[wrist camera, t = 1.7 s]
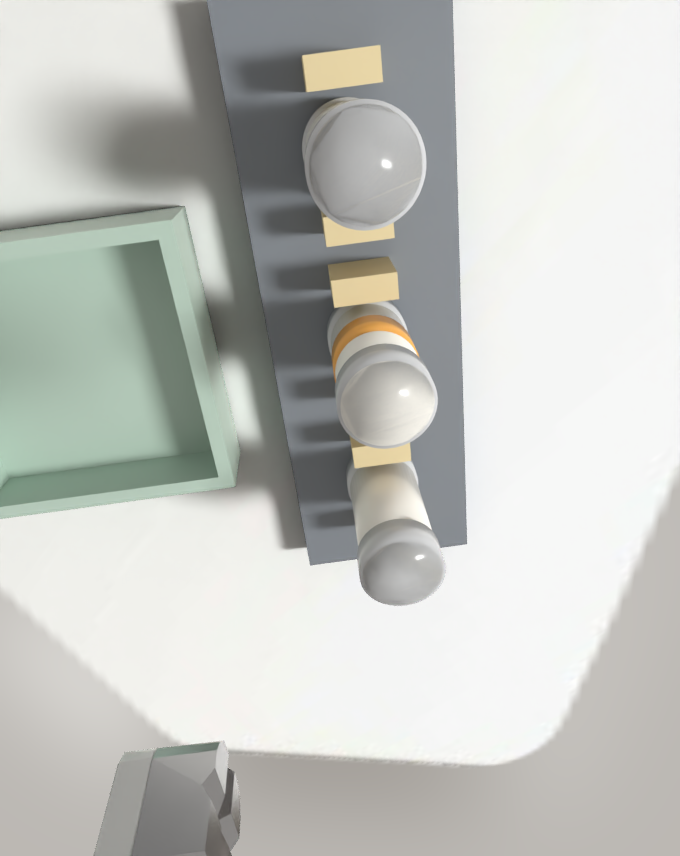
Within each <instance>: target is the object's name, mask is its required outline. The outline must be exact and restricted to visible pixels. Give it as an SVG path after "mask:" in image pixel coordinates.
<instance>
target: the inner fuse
mask: <svg viewBox="0 0 680 856" xmlns="http://www.w3.org/2000/svg"><path fill="white" fill-rule="evenodd" d="M302 154H303V160H304V166H305V175H306V181H307V185H308V188H309V191H310V194H311V196H312V198H313V200H314V201H315V203H316V205H317V206H318V207H319V209H320V210H321V211H322V212H323V213H324V214H325V215H326V216H327V217H328V218H329V219H331V220H332V221H334V222H335V223H337V224H339V225H341V226H343V227H346V228H349V229H353V230H361V231H367V230H375V229H380V228H383V227H385V226H388V225H390V224H392V223H394V222H395V221H397V220H398V219H400V218H401V217H402V216H403V215H404V214H405V213H406V212H407V211H408V210H409V209H410V208H411V207H412V205H413V204H414V203H415V201H416V199H417V198H418V196H419V194H420V192H421V189H422V186H423V183H424V179H425V174H426V151H425V147H424V143H423V140H422V137H421V135H420V133H419V131H418V129H417V127H416V126H415V124H414V123H413V122H412V120H411V119H410V118H409V117H408V116H407V115H406V114H405V113H404V112H402V111H401V110H400V109H398V108H397V107H395V106H393V105H391V104H389V103H386V102H384V101H380V100H374V99H359V98H353V97H340V98H336V99H333V100H330V101H328V102H326V103H324V104H323V105H322V106H320V107H319V108H318V109H317V110H316V111H315V112H314V113H313V114H312V116H311V117H310V119H309V120H308V122H307V124H306V127H305V130H304V133H303V138H302Z"/></svg>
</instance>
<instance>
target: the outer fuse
mask: <svg viewBox="0 0 680 856" xmlns="http://www.w3.org/2000/svg"><path fill="white" fill-rule="evenodd" d="M346 479H347V487H348V493H349V496H350V499H351V500H352V506H353V513H354V521H355V528H356V535H357V542H358V549H357V560H358V568H359V575H360V581H361V585H362V587H363V589H364V590H365V592H366V593H367V594H368V595H369V596H370V597H371V598H373V599H374V600H376V601H378V602H381V603H384V604H388V605H394V606H402V605H409V604H414V603H417V602H419V601H422V600H424V599H426V598H427V597H429V596H430V595H432V594H433V593H434V592H435V591H436V590H437V589H438V588H439V587H440V585H441V584H442V582H443V580H444V577H445V573H446V565H445V561H444V558H443V554H442V551H441V548H440V545H439V542H438V539H437V537H436V535H435V533H434V532H433V531H432V528H431V525H430V522H429V519H428V516H427V513H426V509H425V506H424V503H423V500H422V497H421V494H420V490H419V487H418V477H417V473H416V470H415V467H414V464H413V461H412V459H411V461H406V462H399V463H391V464H384V465H377V466H369V467H362V468H355V467H354V461H353V456H352V457H351V459H350V460H349V462H348V465H347V468H346Z"/></svg>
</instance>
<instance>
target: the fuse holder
mask: <svg viewBox="0 0 680 856" xmlns="http://www.w3.org/2000/svg"><path fill="white" fill-rule="evenodd" d="M207 4H208V10H209V15H210V21H211V26H212V32H213V37H214V43H215V48H216V53H217V59H218V64H219V70H220V75H221V81H222V86H223V92H224V97H225V103H226V108H227V114H228V119H229V124H230V130H231V135H232V141H233V146H234V152H235V157H236V163H237V168H238V174H239V179H240V184H241V190H242V195H243V201H244V206H245V212H246V217H247V223H248V228H249V234H250V239H251V244H252V250H253V255H254V261H255V266H256V272H257V277H258V283H259V288H260V294H261V299H262V305H263V310H264V315H265V321H266V326H267V332H268V337H269V343H270V348H271V354H272V359H273V365H274V370H275V375H276V381H277V386H278V392H279V397H280V403H281V408H282V414H283V419H284V425H285V430H286V436H287V441H288V446H289V452H290V457H291V463H292V468H293V474H294V479H295V485H296V490H297V496H298V501H299V506H300V512H301V517H302V523H303V528H304V534H305V539H306V545H307V550H308V556H309V561H310V565H317V564H324V563H331V562H339V561H346V560H354V559H357V549H358V542H357V535H356V528H355V521H354V513H353V506H352V500H351V499H350V496H349V493H348V487H347V479H346V468H347V465H348V462H349V460H350V459H351V457H352V456H353V461H354V467H355V468H362V467H369V466H377V465H384V464H391V463H399V462H406V461H411V459H412V461H413V464H414V467H415V470H416V473H417V477H418V487H419V490H420V494H421V497H422V500H423V503H424V506H425V509H426V513H427V516H428V519H429V522H430V525H431V528H432V531H433V532H434V533H435V535H436V537H437V539H438V542H439V545H440V548H442V547H449V546H457V545H464V544H467V527H466V489H465V451H464V414H463V376H462V338H461V301H460V263H459V225H458V187H457V150H456V112H455V74H454V36H453V0H207ZM340 97H353V98H359V99H374V100H380V101H384V102H386V103H389V104H391V105H393V106H395V107H397V108H398V109H400V110H401V111H402V112H404V113H405V114H406V115H407V116H408V117H409V118H410V119H411V120H412V122H413V123H414V124H415V126H416V127H417V129H418V131H419V133H420V135H421V137H422V140H423V143H424V147H425V151H426V174H425V179H424V183H423V186H422V189H421V192H420V194H419V196H418V198H417V199H416V201H415V203H414V204H413V205H412V207H411V208H410V209H409V210H408V211H407V212H406V213H405V214H404V215H403V216H402V217H401V218H400V219H398V220H397V221H395V222H394V223H392V224H390V225H388V226H385V227H383V228H380V229H375V230H367V231H361V230H353V229H349V228H346V227H343V226H341V225H339V224H337V223H335V222H334V221H332V220H331V219H329V218H328V217H327V216H326V215H325V214H324V213H323V212H322V211H321V210H320V209H319V207H318V206H317V205H316V203H315V201H314V200H313V198H312V196H311V194H310V191H309V188H308V185H307V181H306V175H305V166H304V160H303V154H302V138H303V133H304V130H305V127H306V124H307V122H308V120H309V119H310V117H311V116H312V114H313V113H314V112H315V111H316V110H317V109H318V108H319V107H320V106H322V105H323V104H324V103H326V102H328V101H330V100H333V99H336V98H340ZM389 300H390V301H391V302H393V303H394V304H395V306H396V307H397V308H398V310H399V311H400V313H401V316H402V318H403V320H404V322H405V324H406V327H407V330H408V334H409V335H410V337H411V339H412V342H413V344H414V346H415V348H416V350H417V352H418V354H419V357H420V359H421V360H422V361H423V362H424V364H425V366H426V367H427V370H428V372H429V374H430V376H431V378H432V380H433V382H434V384H435V387H436V390H437V396H438V405H437V410H436V413H435V416H434V418H433V421H432V422H431V424H430V425H429V427H428V428H427V429H426V430H425V432H424V433H422V434H421V435H420V436H419V437H418V438H416V439H415V440H413V441H411V442H410V443H407V444H405V445H403V446H399V447H395V448H388V449H380V448H373V447H369V446H366V445H363V444H361V443H359V442H358V441H356V440H355V439H353V438H352V437H351V436H350V435H349V434H348V433H347V432H346V431H345V429H344V428H343V426H342V424H341V423H340V420H339V417H338V412H337V405H336V398H335V379H334V373H333V366H332V357H331V354H330V351H329V346H328V339H327V324H328V320H329V317H330V315H331V313H332V311H333V310H334V309H335V308H337V307H344V306H352V305H359V304H367V303H374V302H381V301H389Z"/></svg>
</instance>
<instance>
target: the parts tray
mask: <svg viewBox="0 0 680 856" xmlns="http://www.w3.org/2000/svg"><path fill="white" fill-rule="evenodd" d="M239 459H240V447H239V443H238V438H237V434H236V430H235V425H234V421H233V416H232V412H231V408H230V403H229V399H228V394H227V390H226V386H225V381H224V377H223V372H222V368H221V364H220V359H219V355H218V350H217V346H216V341H215V337H214V333H213V328H212V324H211V319H210V315H209V311H208V306H207V302H206V297H205V293H204V289H203V284H202V280H201V275H200V271H199V267H198V262H197V258H196V253H195V249H194V245H193V240H192V236H191V231H190V227H189V223H188V218H187V214H186V209H185V206H181V207H173V208H166V209H159V210H151V211H144V212H137V213H129V214H122V215H114V216H107V217H100V218H92V219H85V220H77V221H70V222H63V223H55V224H48V225H40V226H33V227H26V228H18V229H11V230H3V231H0V519H4V518H11V517H18V516H26V515H33V514H41V513H48V512H55V511H63V510H70V509H77V508H85V507H92V506H99V505H107V504H114V503H122V502H129V501H136V500H144V499H151V498H158V497H166V496H173V495H181V494H188V493H195V492H203V491H210V490H217V489H225V488H232V487H235V486H236V479H237V473H238V466H239Z"/></svg>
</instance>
